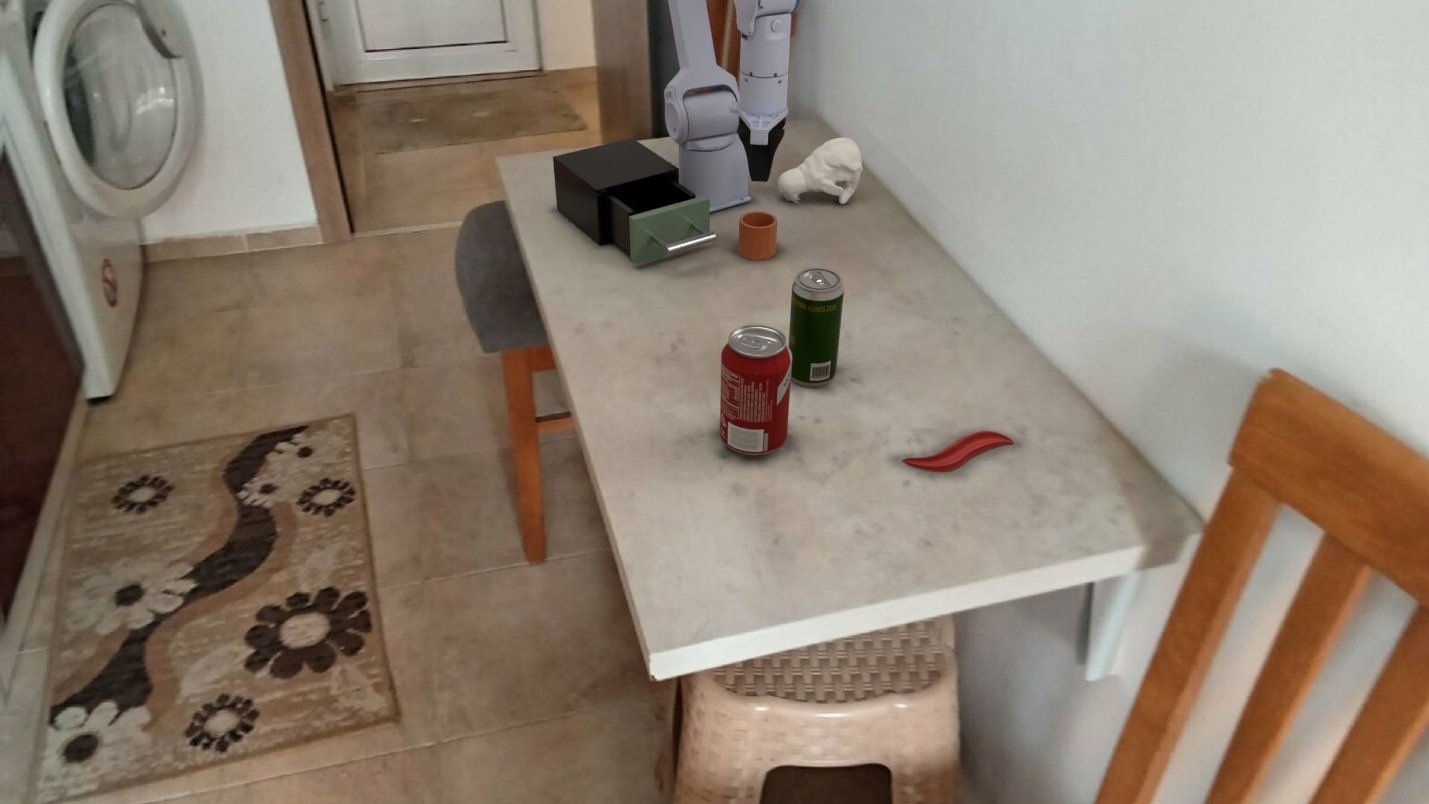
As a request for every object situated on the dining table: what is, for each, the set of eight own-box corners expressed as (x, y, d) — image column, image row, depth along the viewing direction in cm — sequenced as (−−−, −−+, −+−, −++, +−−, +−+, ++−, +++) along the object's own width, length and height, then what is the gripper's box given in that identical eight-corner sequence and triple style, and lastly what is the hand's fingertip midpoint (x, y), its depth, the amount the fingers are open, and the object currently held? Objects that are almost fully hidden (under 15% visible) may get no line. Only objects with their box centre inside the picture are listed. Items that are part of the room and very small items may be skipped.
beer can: (845, 381, 117) (854, 285, 110) (802, 393, 115) (809, 296, 108) (819, 356, 121) (827, 262, 114) (777, 368, 119) (783, 272, 112)
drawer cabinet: (679, 223, 147) (679, 168, 142) (599, 245, 141) (596, 189, 137) (634, 190, 155) (632, 137, 151) (556, 210, 150) (552, 156, 145)
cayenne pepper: (909, 475, 104) (911, 459, 103) (895, 445, 108) (897, 430, 107) (1026, 463, 106) (1030, 447, 105) (1008, 434, 109) (1011, 419, 108)
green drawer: (729, 257, 137) (730, 212, 134) (654, 280, 132) (653, 234, 129) (664, 210, 148) (663, 167, 144) (592, 230, 143) (589, 186, 139)
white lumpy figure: (867, 145, 147) (782, 160, 146) (866, 201, 152) (785, 216, 151) (852, 128, 152) (770, 142, 151) (852, 183, 157) (773, 197, 156)
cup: (761, 239, 143) (762, 207, 141) (782, 254, 140) (784, 222, 137) (731, 248, 141) (732, 216, 139) (752, 263, 138) (754, 231, 135)
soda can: (765, 469, 104) (770, 367, 97) (707, 445, 107) (707, 345, 100) (798, 433, 109) (805, 333, 102) (741, 412, 112) (744, 313, 105)
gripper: (734, 48, 133) (732, 152, 141) (725, 90, 121) (723, 200, 129) (792, 51, 132) (786, 155, 140) (787, 92, 120) (782, 203, 128)
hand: (759, 177), depth 135 cm, fingers closed
